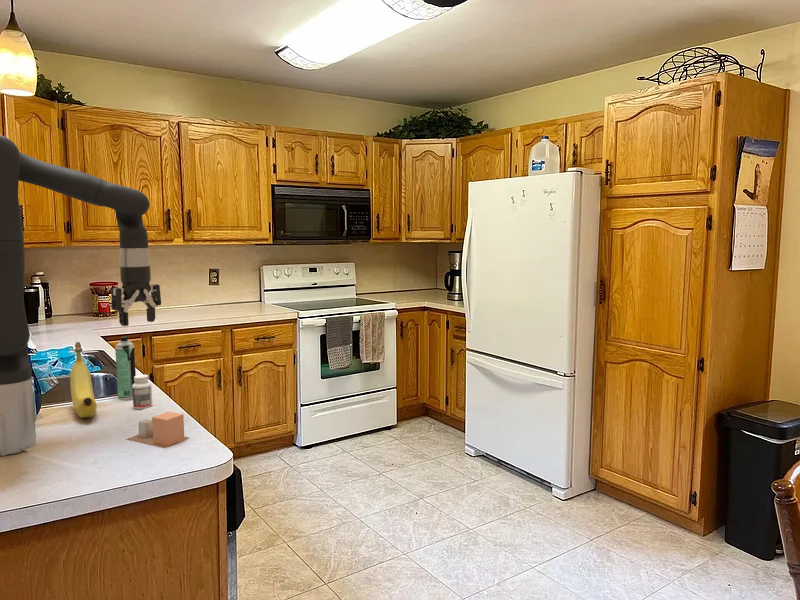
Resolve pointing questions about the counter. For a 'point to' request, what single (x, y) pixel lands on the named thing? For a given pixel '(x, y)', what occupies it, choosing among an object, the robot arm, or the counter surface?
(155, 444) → the walnut board
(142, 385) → the pill bottle
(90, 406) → the banana
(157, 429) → the salmon pink cube
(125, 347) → the spray can
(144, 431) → the stub post
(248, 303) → the counter surface
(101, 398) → the counter surface
